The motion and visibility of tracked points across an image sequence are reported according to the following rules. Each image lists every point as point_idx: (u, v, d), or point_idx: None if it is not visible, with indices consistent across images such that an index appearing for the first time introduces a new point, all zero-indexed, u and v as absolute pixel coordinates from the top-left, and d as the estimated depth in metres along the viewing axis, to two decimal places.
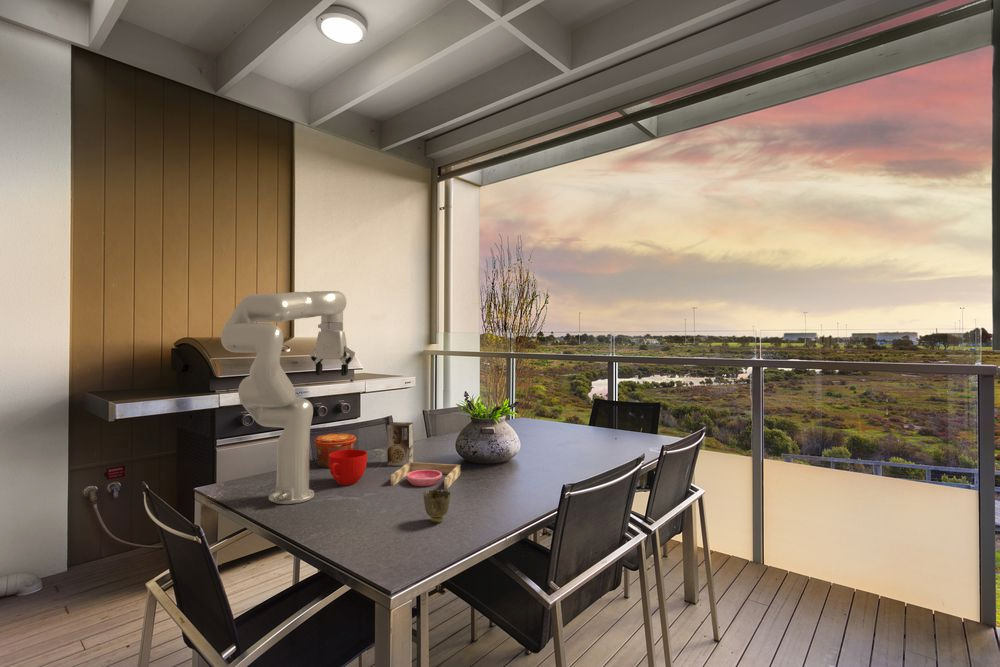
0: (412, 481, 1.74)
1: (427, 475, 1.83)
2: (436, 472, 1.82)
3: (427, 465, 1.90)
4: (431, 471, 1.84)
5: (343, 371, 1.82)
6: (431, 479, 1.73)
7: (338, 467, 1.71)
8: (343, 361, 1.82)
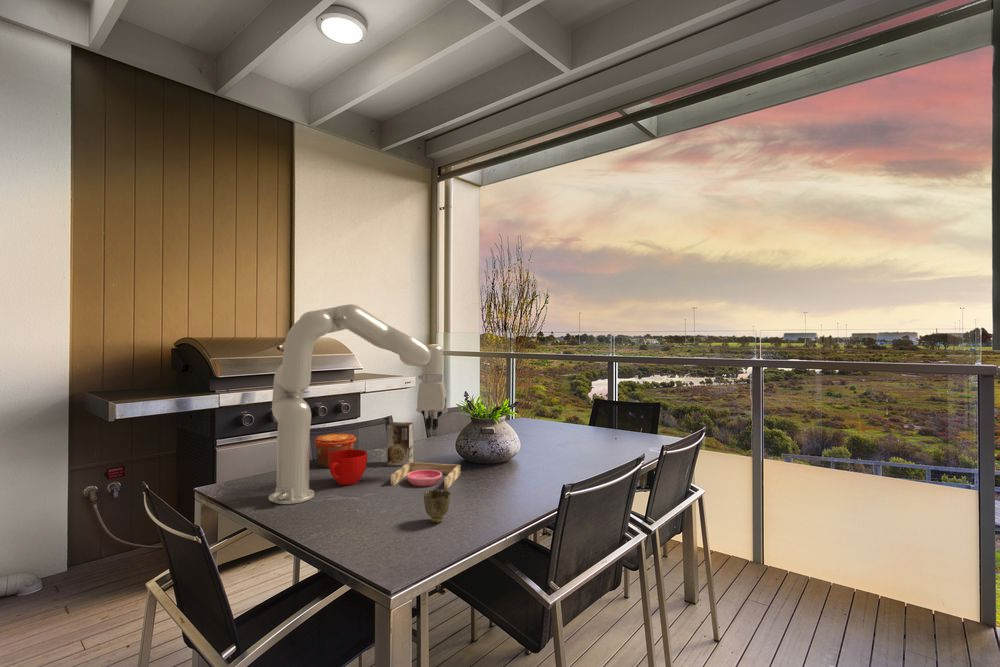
0: (412, 481, 1.74)
1: (427, 475, 1.83)
2: (436, 472, 1.82)
3: (427, 465, 1.90)
4: (431, 471, 1.84)
5: (434, 425, 1.85)
6: (431, 479, 1.73)
7: (338, 467, 1.71)
8: (434, 415, 1.85)
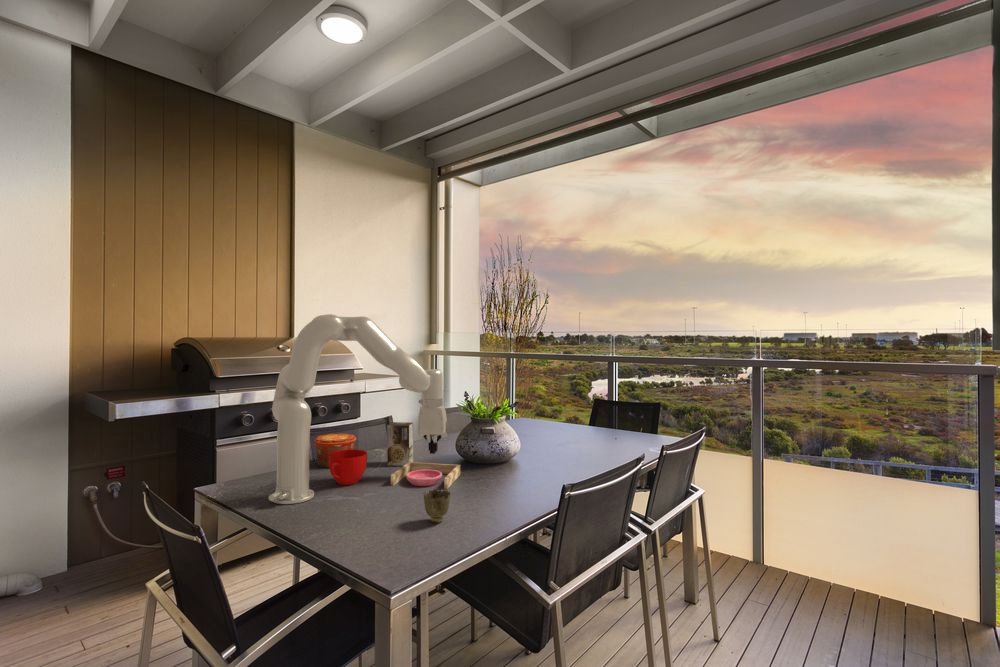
0: (412, 481, 1.74)
1: (427, 475, 1.83)
2: (436, 472, 1.82)
3: (427, 465, 1.90)
4: (431, 471, 1.84)
5: (434, 449, 1.86)
6: (431, 479, 1.73)
7: (338, 467, 1.71)
8: (434, 439, 1.86)
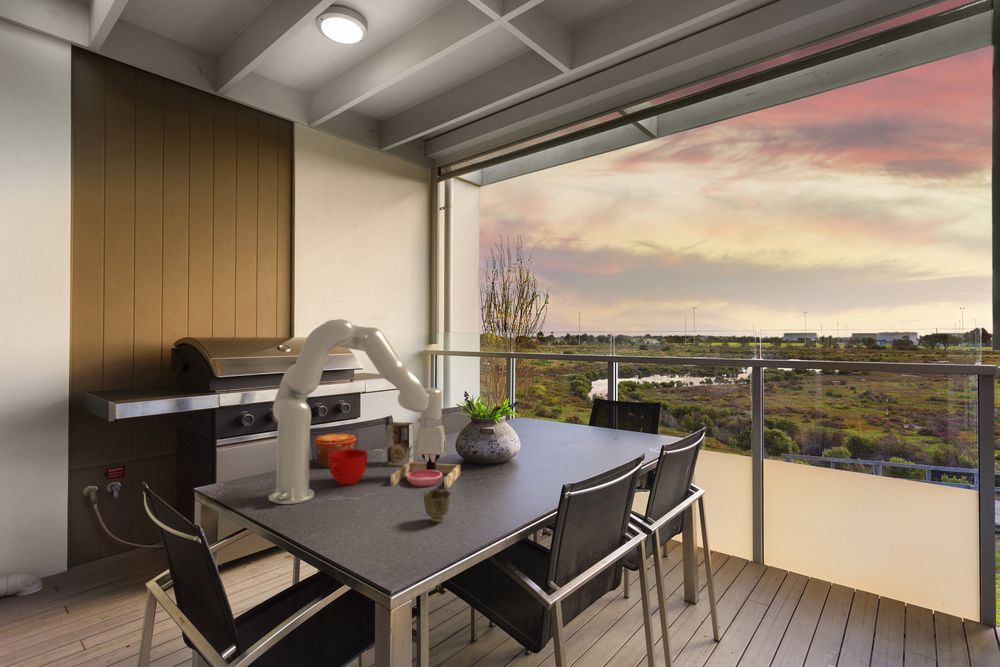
0: (412, 481, 1.73)
1: (427, 475, 1.83)
2: (436, 472, 1.82)
3: None
4: (431, 471, 1.83)
5: (432, 469, 1.85)
6: (431, 479, 1.73)
7: (338, 467, 1.71)
8: (432, 459, 1.85)
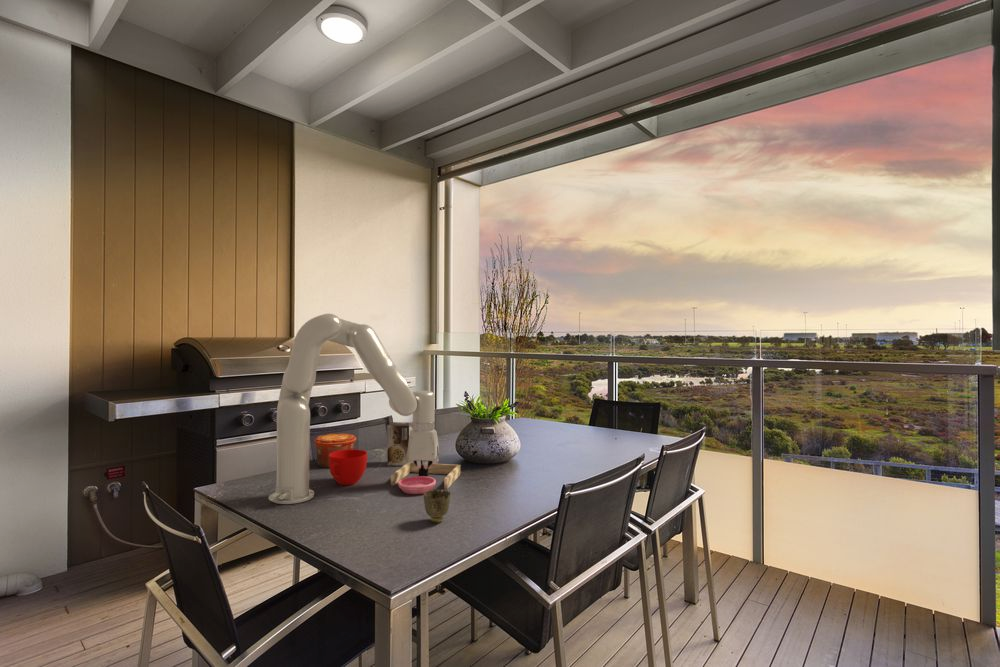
0: (403, 489, 1.65)
1: (420, 482, 1.74)
2: (430, 479, 1.73)
3: None
4: (425, 478, 1.75)
5: (424, 475, 1.76)
6: (423, 487, 1.64)
7: (338, 467, 1.71)
8: (424, 465, 1.76)
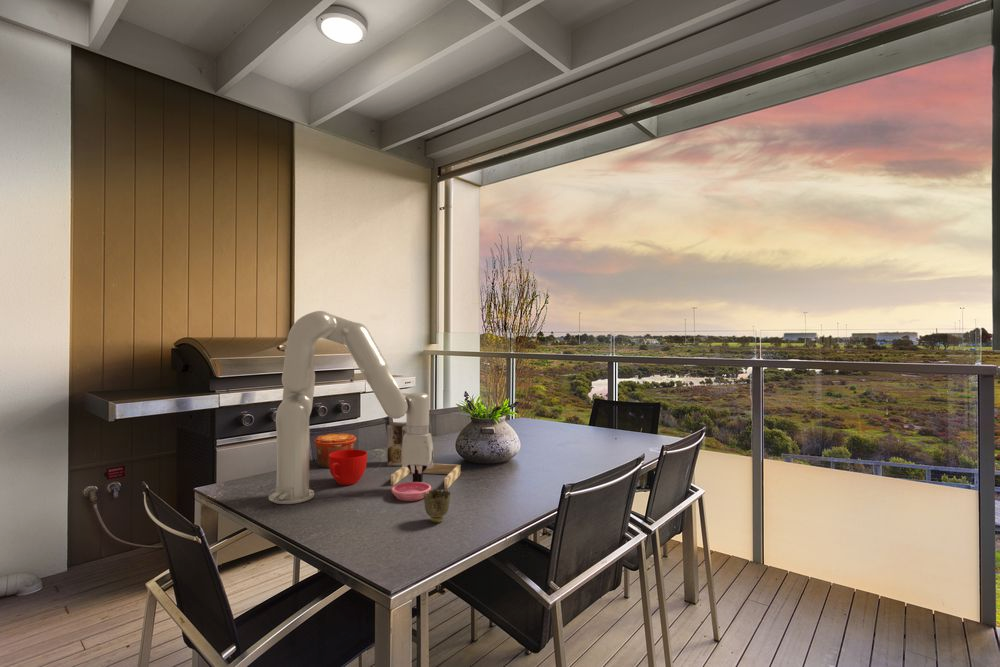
0: (397, 495, 1.58)
1: (415, 488, 1.68)
2: (425, 485, 1.67)
3: None
4: (420, 484, 1.68)
5: (418, 481, 1.70)
6: (418, 493, 1.58)
7: (338, 467, 1.71)
8: (418, 470, 1.70)
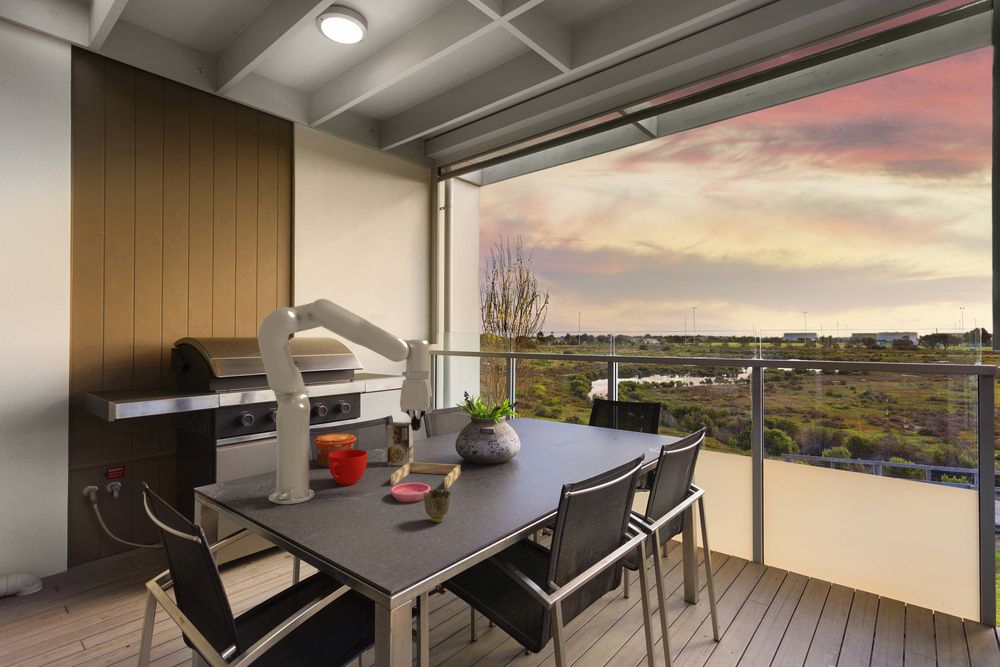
0: (396, 496, 1.58)
1: (415, 489, 1.67)
2: (424, 486, 1.66)
3: (427, 465, 1.90)
4: (419, 485, 1.67)
5: (416, 426, 1.71)
6: (417, 494, 1.57)
7: (338, 467, 1.71)
8: (417, 415, 1.71)
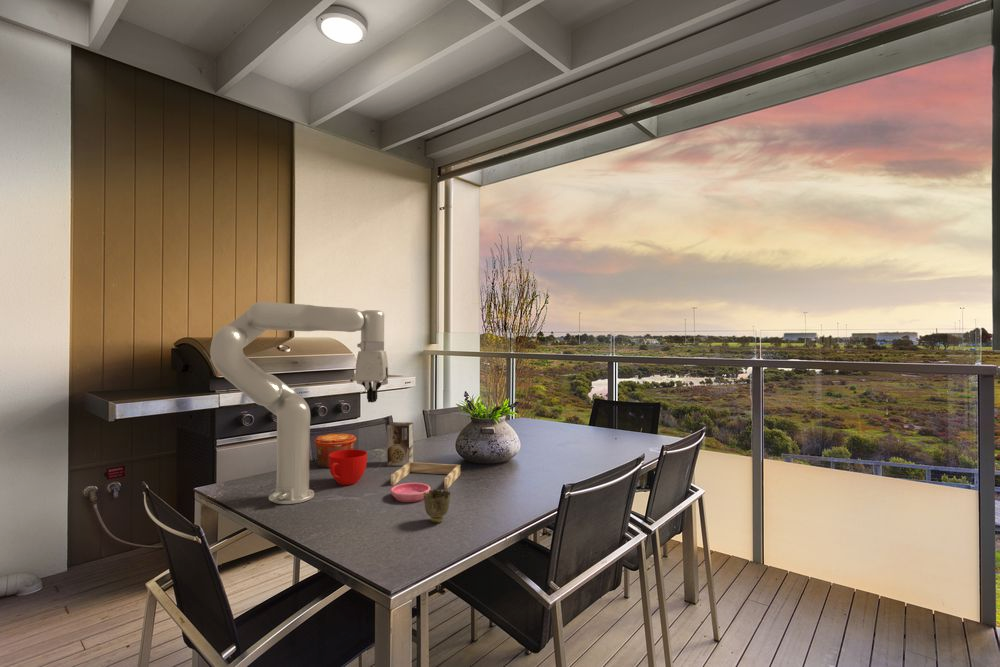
0: (396, 496, 1.58)
1: (415, 489, 1.67)
2: (424, 486, 1.66)
3: (427, 465, 1.90)
4: (419, 485, 1.67)
5: (372, 397, 1.69)
6: (417, 494, 1.57)
7: (338, 467, 1.71)
8: (372, 387, 1.69)
